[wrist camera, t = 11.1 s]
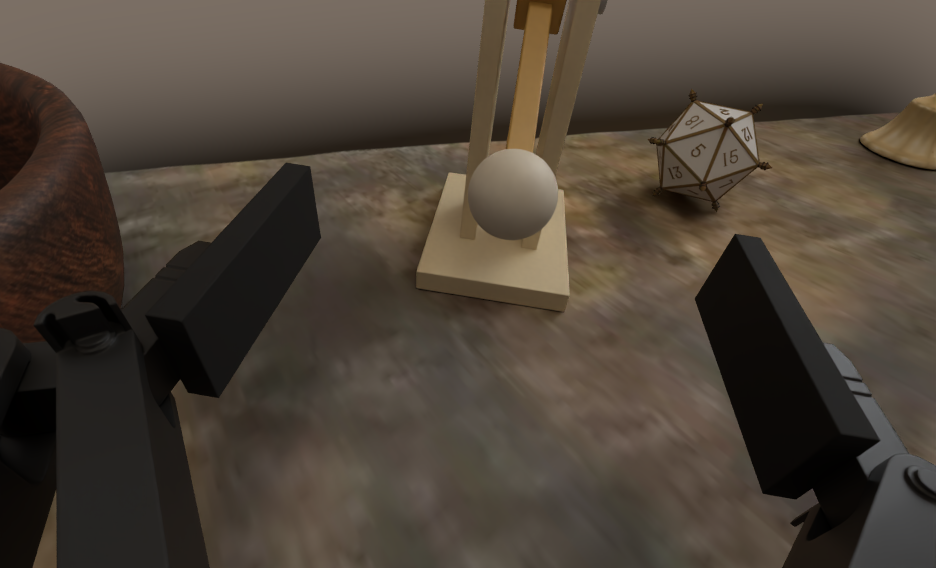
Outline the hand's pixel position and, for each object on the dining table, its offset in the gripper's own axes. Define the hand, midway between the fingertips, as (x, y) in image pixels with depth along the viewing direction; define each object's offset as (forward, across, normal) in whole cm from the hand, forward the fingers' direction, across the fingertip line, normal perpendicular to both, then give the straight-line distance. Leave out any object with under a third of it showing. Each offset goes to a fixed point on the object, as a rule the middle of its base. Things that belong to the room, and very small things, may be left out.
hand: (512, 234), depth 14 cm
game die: (+24, +15, -10) cm, 31 cm away
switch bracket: (+14, 0, -10) cm, 17 cm away
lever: (+10, 0, 0) cm, 10 cm away
